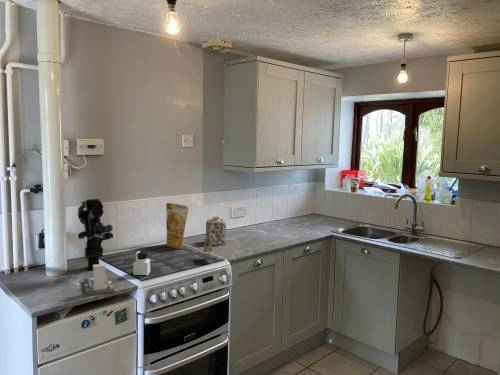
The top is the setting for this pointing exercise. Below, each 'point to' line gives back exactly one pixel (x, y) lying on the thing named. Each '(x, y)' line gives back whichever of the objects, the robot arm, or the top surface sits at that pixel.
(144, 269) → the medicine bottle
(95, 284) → the slider tab
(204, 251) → the architectural model
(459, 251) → the top surface
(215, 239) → the decorative jar
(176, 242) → the pancake mix bag
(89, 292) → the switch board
